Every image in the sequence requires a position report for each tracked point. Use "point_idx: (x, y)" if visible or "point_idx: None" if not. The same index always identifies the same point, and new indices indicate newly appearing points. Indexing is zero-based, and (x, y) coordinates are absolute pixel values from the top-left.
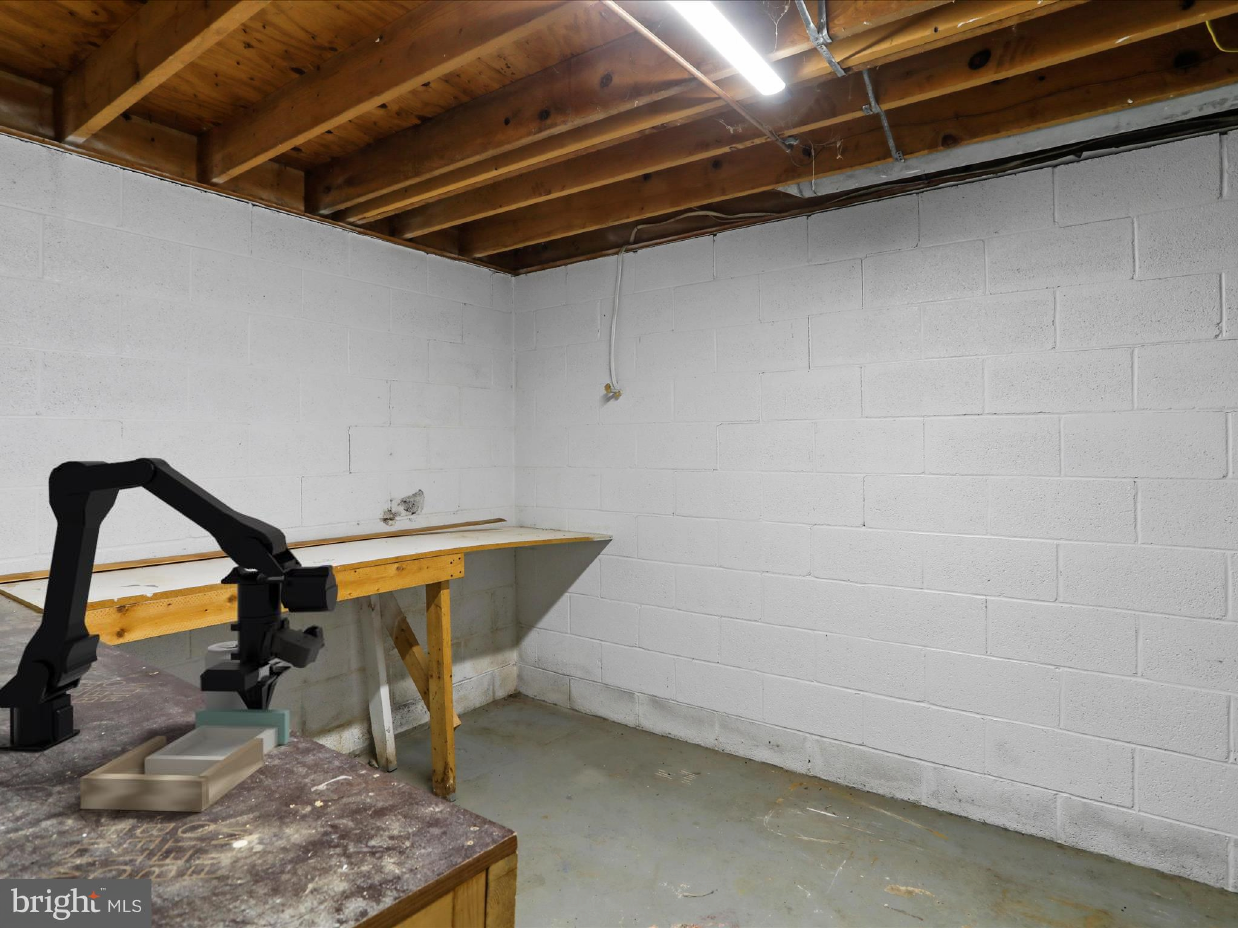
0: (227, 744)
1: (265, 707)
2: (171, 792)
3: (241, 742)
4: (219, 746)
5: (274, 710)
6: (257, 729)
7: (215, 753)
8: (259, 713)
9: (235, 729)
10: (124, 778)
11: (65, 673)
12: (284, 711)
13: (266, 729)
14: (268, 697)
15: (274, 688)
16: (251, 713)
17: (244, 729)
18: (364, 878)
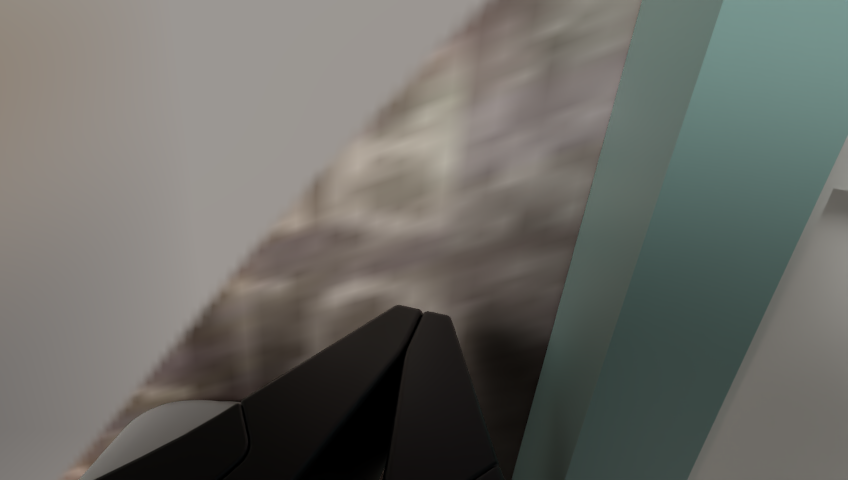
0: (787, 430)
1: (390, 371)
2: None
3: (781, 346)
4: (819, 470)
5: (679, 226)
6: (786, 287)
7: None
8: (729, 386)
9: (697, 467)
10: None
11: None
12: (791, 39)
13: (824, 192)
14: (336, 429)
15: (167, 452)
16: (686, 467)
17: (731, 401)
18: None
